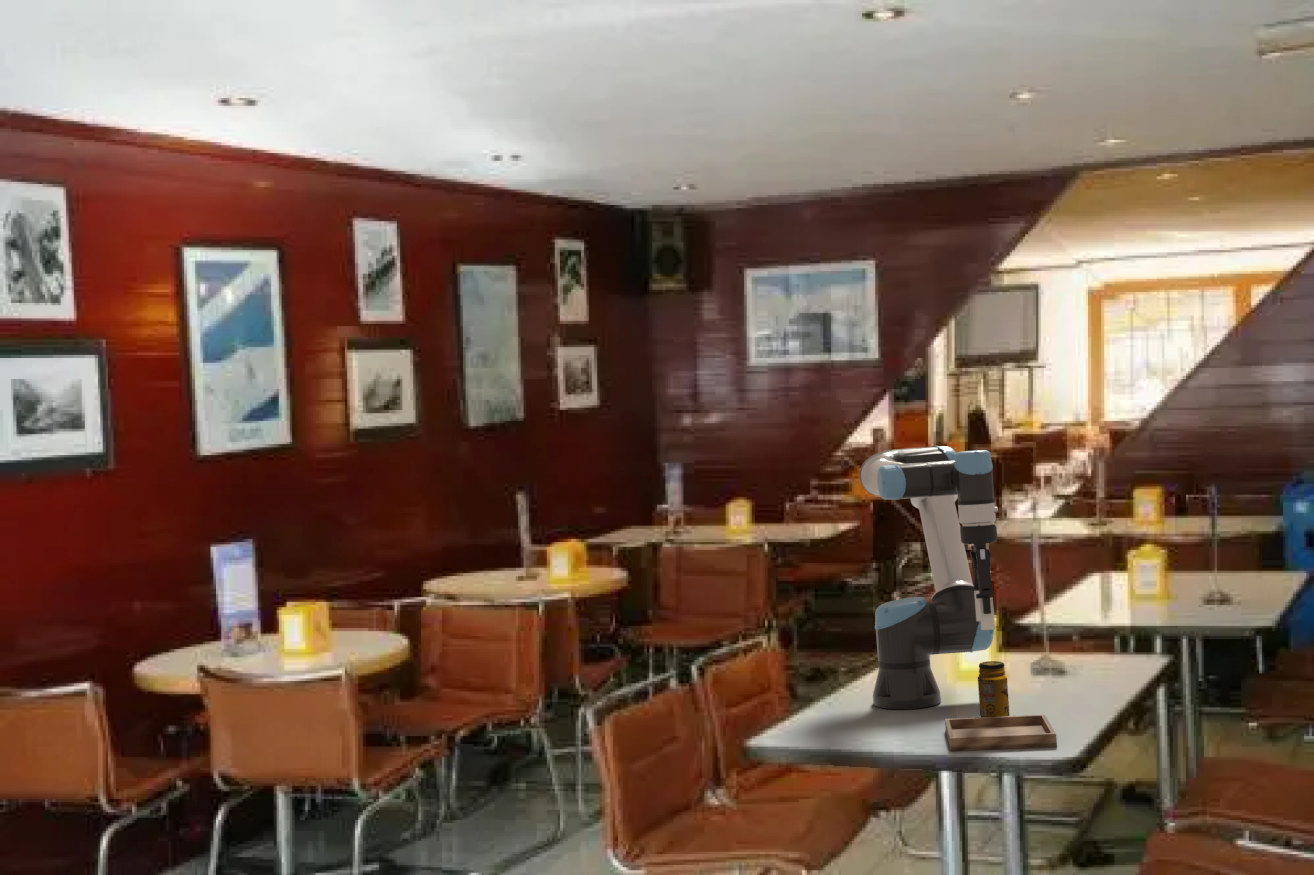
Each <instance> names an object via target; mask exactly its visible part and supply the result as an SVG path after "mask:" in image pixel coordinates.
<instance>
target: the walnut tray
mask: <svg viewBox="0 0 1314 875" xmlns="http://www.w3.org/2000/svg"><path fill="white" fill-rule="evenodd" d="M980 717H981V716H980ZM944 722H945V723H944V725H945V733H946V738H947V742H948V745H949V749H950V752H963V751H964V752H966V751H967V752H968V751H985V750H987V751H989V750H992V751H994V750H1013V749H1037V748H1039V749H1040V748H1057V747H1058V741H1057V738H1058V737H1057V733H1056V730H1055V729H1054V728H1053V726H1052V724H1051V723H1050V721H1049V719H1048V717H1047V716H1046V715H1045V714H1031V715H1009V716H1003V717H981V718H976V717H965V718H962V717H961V718H944Z"/></svg>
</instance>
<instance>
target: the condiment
mask: <svg viewBox="0 0 1314 875" xmlns="http://www.w3.org/2000/svg"><path fill="white" fill-rule="evenodd" d="M977 684H978V702H979V713H980V714H979V717H975V718H981V717H1003V716H1010V701H1009V688H1008V676H1007V675H1006V670H1005V663H1004V662H1002V661H997V660H991V661H982V662H980V663H979V664H978V676H977Z"/></svg>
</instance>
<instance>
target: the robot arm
mask: <svg viewBox="0 0 1314 875" xmlns="http://www.w3.org/2000/svg"><path fill="white" fill-rule="evenodd" d="M993 469H994V465H993V461H992V455H991V452H990V451H989V450H986V449H980V450H977V449H976V450H966V451H965V450H964V451H957V452H956V451H955V449H953V448H952V447H950V446H948V445H947V446H946V445H942V446H941V445H940V446H938V445H931V446H924V447H923V446H922V447H910V448H899V449H898V448H897V449H896V448H894V449H887V450H882V451H879V452H877V453H875V454H873V455H870V456H869V457H868V458H867V459H865V460H864V462H862V464H861V466H860V469H859V473H858V476H859V482H860V484H861V486H862V487H863V489H864V490H865V491H866V492H868V493H869V494H870V495H874V496H877V497H880V498H881V499H883V500H884V501H885V500H894V501H898V500H903V499H904V500H905V499H910V503H911V505H912V506H913V507H915V509H918V510H919V515H920V520H921V525H922V531H923V535H924V540H925V545H926V550H927V554H928V560H929V564H930V570H931V575H932V580H933V584H934V588H935V592H934V593H933V594H932V596H931V599H930V602H927V601H928V600H926V598H925V597H923V596H913V597H904V598H899V599H895V600H890V601H887V602H885V603H882V604H880V605H879V606H878V607H877V608H876V609H875V614H874V617H875V618H874V624H875V625H874V629H875V635H876V649H877V651H876V652H877V664H878V665H877V666H878V672H877V675H876V681H875V684H874V688H873V691H872V702H873V705H874V707H877V708H881V709H887V710H888V709H889V710H890V709H891V710H912V709H923V708H927V707H928V708H929V707H932V706H933V707H934V706H936V705H938V704H940V703H941V701H942V700H941V699H942V698H941V691H940V688H939V685H938V683H937V681H936V678H935V675H934V674H933V670H932V668H931V666H932V665H931V655H945V654H946V655H947V654H948V655H949V654H956V653H957V654H960V653H974V652H980V651H985V650H988V649H989V648H991V646H992V643H993V639H994V636H995V635H994V634H995V630H996V626H995V624H996V623H995V609H994V598H993V596H994V590H993V585H992V575H991V569H992V568H991V567H992V565H991V556H992V555H991V551H990V550H989V549H988V548H987V544H992V543H996V542H997V541H998V528H997V526H998V525H996V523H994V522H996V519H997V518H996V513H995V512H998V511H999V508H998V506H995V488H994V474H993ZM957 500H958V501H957ZM956 501H957V506H956ZM957 507H958V509H957ZM957 510H958V511H957ZM960 524H961V525H960ZM965 545H971V547H970V549H971V551H969V556H970V561H971V562H970V563H971V568H972V575H971V570H970V564H969V560H968V555H967V552H966V548H965Z"/></svg>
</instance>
